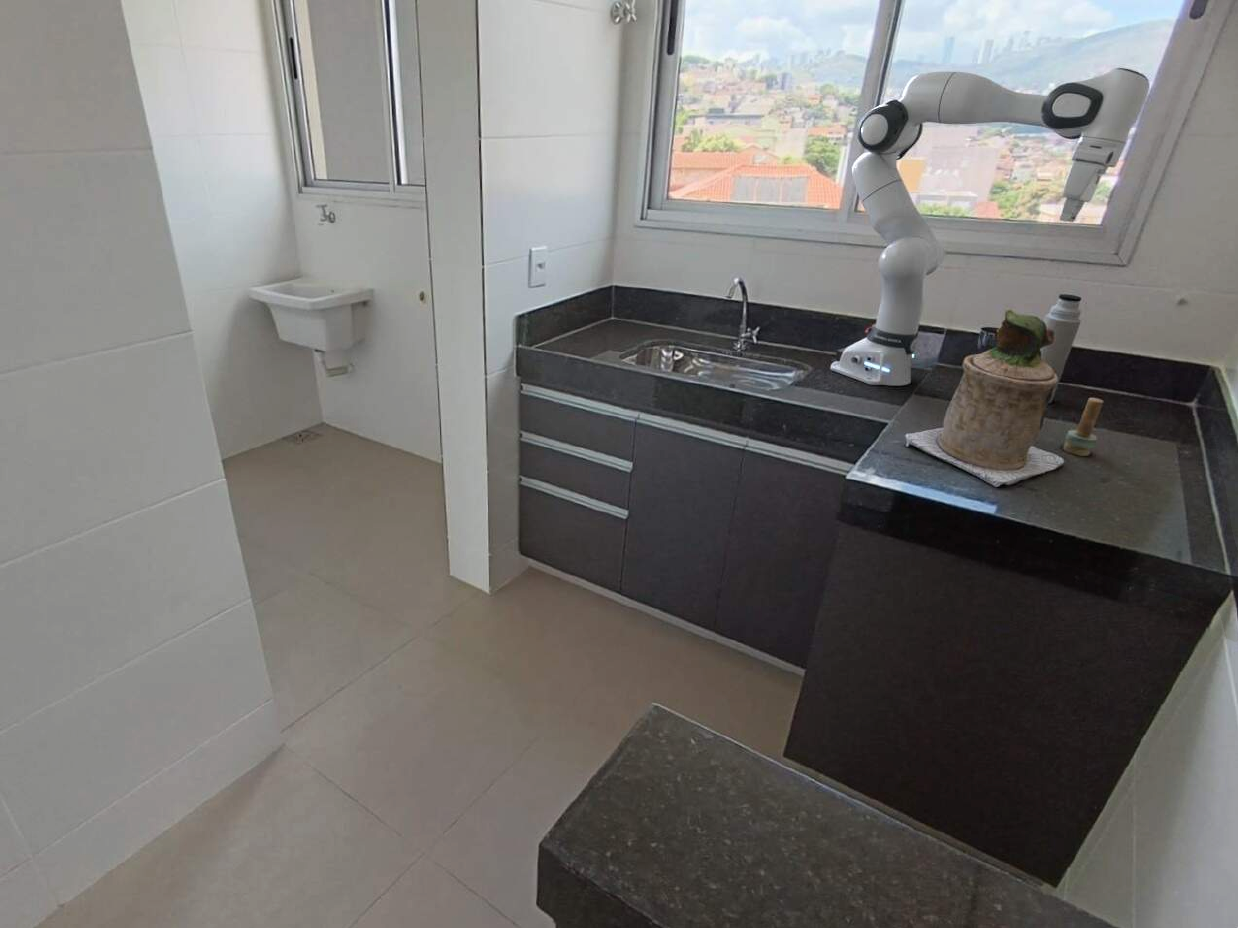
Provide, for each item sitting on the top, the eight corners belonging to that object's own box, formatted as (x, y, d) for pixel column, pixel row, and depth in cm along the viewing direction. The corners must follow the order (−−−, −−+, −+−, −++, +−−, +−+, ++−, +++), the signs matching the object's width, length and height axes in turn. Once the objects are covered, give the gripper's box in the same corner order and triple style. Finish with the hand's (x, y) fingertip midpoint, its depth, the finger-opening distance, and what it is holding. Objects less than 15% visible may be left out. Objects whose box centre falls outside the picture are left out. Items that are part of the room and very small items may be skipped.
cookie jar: (1002, 491, 135) (1057, 335, 120) (898, 444, 153) (935, 303, 138) (1066, 466, 147) (1123, 321, 132) (963, 425, 165) (1003, 293, 151)
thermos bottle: (1045, 394, 188) (1081, 293, 175) (1056, 405, 181) (1094, 300, 168) (1015, 391, 189) (1048, 291, 176) (1024, 401, 182) (1059, 297, 169)
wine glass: (959, 378, 197) (974, 328, 190) (979, 376, 200) (994, 326, 193) (982, 387, 191) (998, 335, 184) (1002, 385, 194) (1018, 334, 187)
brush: (1059, 450, 154) (1078, 399, 149) (1065, 443, 158) (1084, 393, 152) (1087, 458, 151) (1108, 406, 145) (1093, 451, 154) (1113, 400, 149)
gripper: (1085, 156, 156) (1058, 219, 162) (1073, 148, 141) (1044, 217, 147) (1116, 161, 153) (1087, 225, 159) (1108, 153, 138) (1076, 224, 144)
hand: (1066, 221), depth 153 cm, fingers open, 8 cm apart
